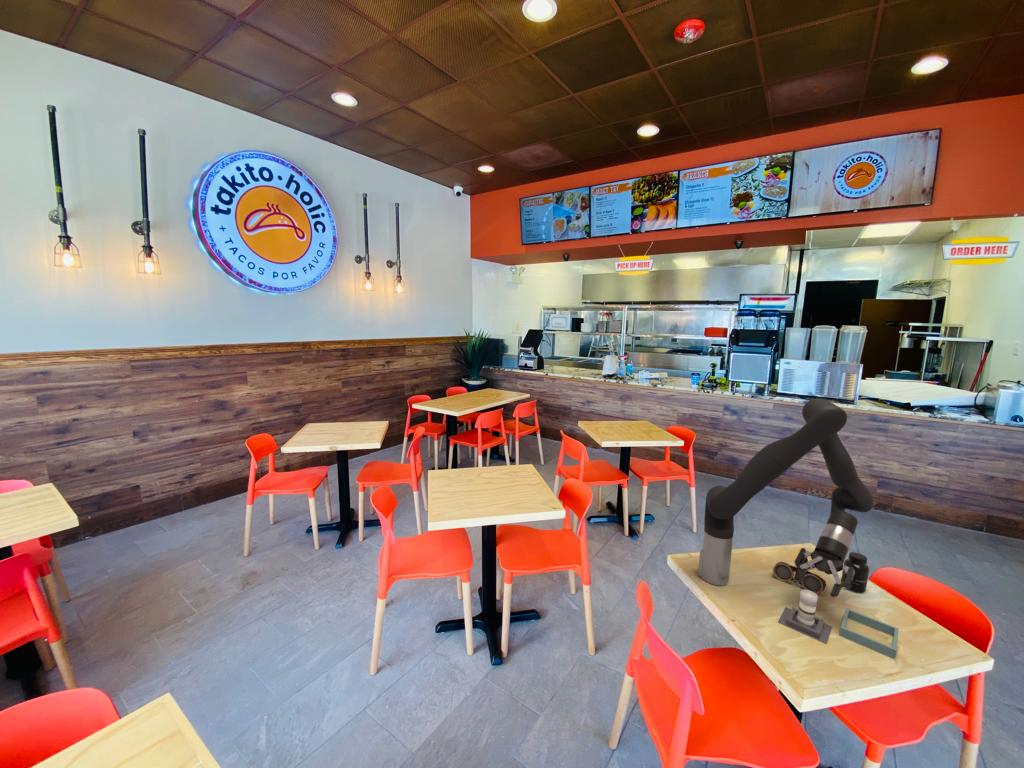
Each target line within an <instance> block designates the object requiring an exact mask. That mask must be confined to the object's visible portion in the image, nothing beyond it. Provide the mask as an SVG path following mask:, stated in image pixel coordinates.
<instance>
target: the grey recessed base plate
mask: <svg viewBox="0 0 1024 768" xmlns="http://www.w3.org/2000/svg"><path fill="white" fill-rule="evenodd" d="M798 610H799V608H796V607H794V606H792V607H791V608H789V607H787V606H785V607H784V609H783V611H782V613H781V615H780V617H779V619H778V621H777V623H778V624H780V625H782V626H785V627H787V628H789V629H791V630H794V631H795V632H797V633H800V634H802V635H804V636H807V637H809V638H812V639H814V640H816V641H818V642H820V643H823V644H825V645H828V642H829V639H830V635H831V633H832V629H833V626H832V625H830V624H827V623H826V622H825V619H823V618H821V617H818V616H816V615H815V618H814V619H815V621H814V628H813V629H812V628H810V627H808V626H805V625H803V624H801V623H798V622H796V621H797V614H798Z"/></svg>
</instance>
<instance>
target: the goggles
mask: <svg viewBox="0 0 1024 768" xmlns="http://www.w3.org/2000/svg"><path fill="white" fill-rule="evenodd" d="M808 561H809V559H808V557H807V558H804V560H803V562H802V564H805V563H806V562H808ZM772 571H773V575H774V577H775V578H776V579H777V580H779V581H780V582H784V583H786V584H788V585H792V584H793V583H796V584H797V585H798V587H799V589H801V590H803V589H805V590H810V591H812V592H814V593H815V594H817V595H818V594H821V593H822V592H823V591H825V589H826V587H827V581H826V580H825V578H822V577H821V575H819V574H816V573H815V572H814V573H813V572H812V571H810V570H808V571H806V572H805V573H806V574H805V576H804V578H803V581H802V583H800V582H798V579H797V577H796V576H797V573H798V571H799V568H798V567H797V566H796V565H795V566H793V565H791V564H788V563H787V562H784V561H779V562H776V563H775V564H774V566H773V568H772Z"/></svg>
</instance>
